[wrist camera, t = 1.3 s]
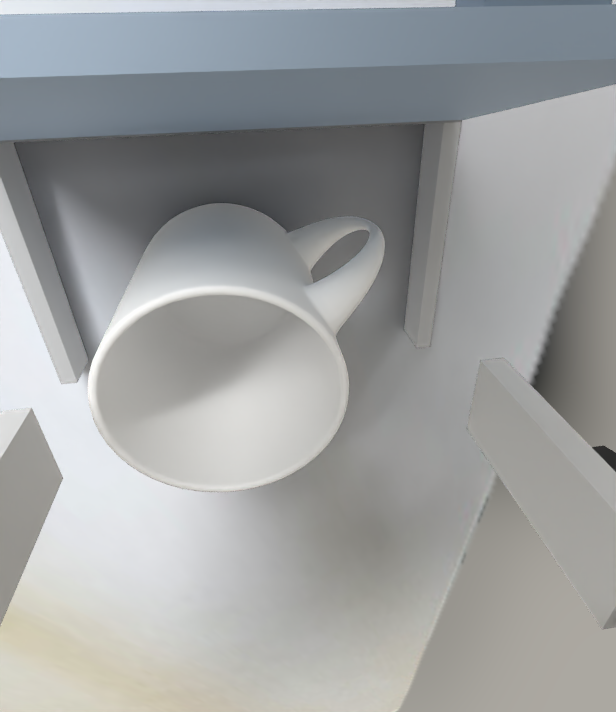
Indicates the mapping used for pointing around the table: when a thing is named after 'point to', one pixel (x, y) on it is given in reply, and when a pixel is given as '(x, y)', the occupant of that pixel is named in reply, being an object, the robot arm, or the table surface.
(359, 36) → the cover
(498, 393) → the robot arm
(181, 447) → the mug
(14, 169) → the bracket
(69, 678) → the table surface
